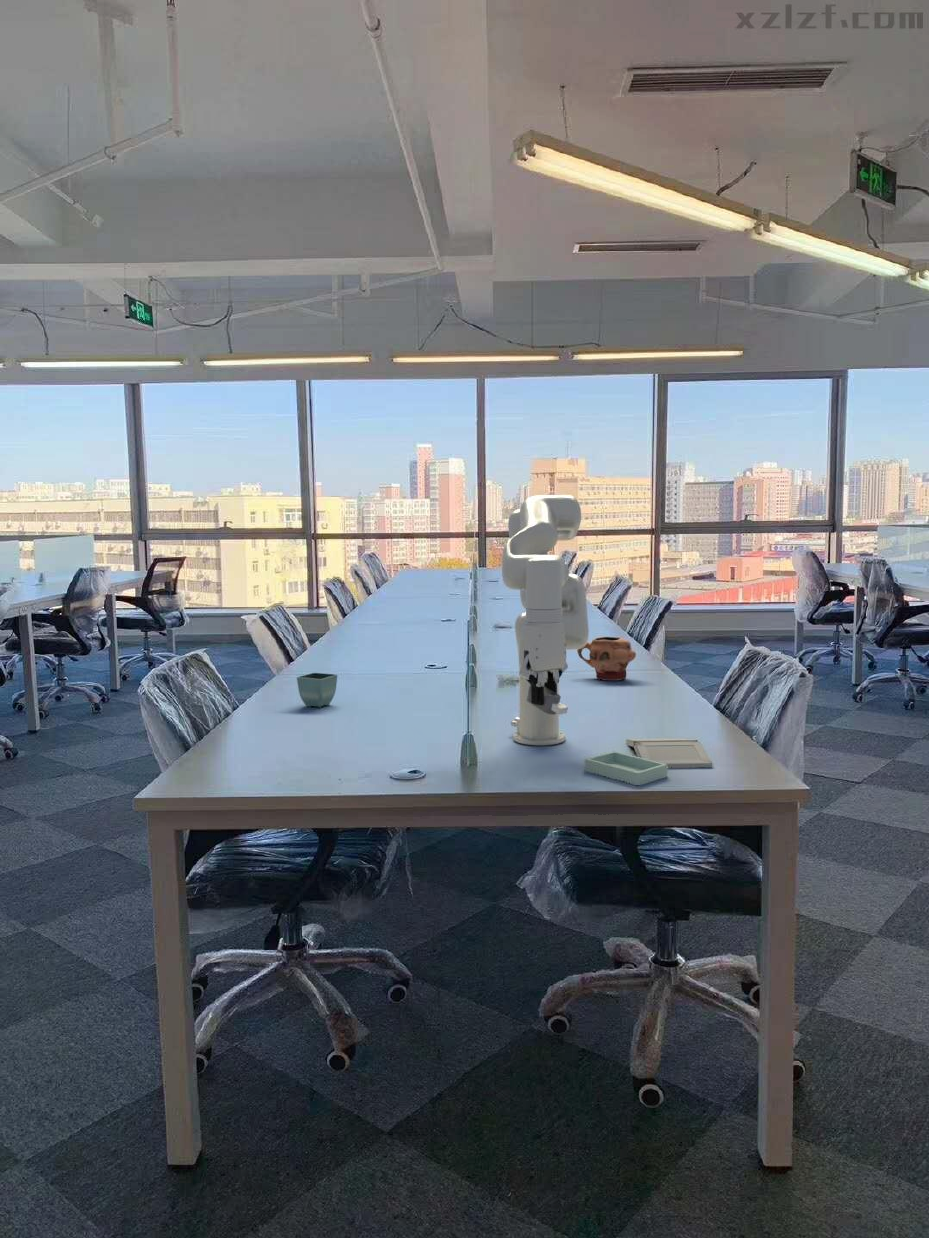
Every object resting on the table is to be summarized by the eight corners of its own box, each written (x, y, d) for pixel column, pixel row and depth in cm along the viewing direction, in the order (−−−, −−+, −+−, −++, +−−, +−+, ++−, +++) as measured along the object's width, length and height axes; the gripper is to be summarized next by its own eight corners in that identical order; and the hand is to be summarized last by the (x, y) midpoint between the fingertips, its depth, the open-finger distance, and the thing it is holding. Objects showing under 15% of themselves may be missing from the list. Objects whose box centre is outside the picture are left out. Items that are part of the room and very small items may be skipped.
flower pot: (339, 703, 262) (338, 673, 261) (322, 709, 254) (321, 679, 253) (314, 701, 265) (313, 672, 264) (296, 707, 257) (295, 677, 256)
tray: (584, 770, 188) (584, 758, 188) (614, 762, 194) (614, 751, 194) (637, 785, 177) (638, 773, 177) (667, 776, 183) (667, 764, 183)
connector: (523, 698, 190) (526, 683, 189) (534, 696, 192) (537, 681, 191) (556, 719, 182) (559, 704, 181) (567, 717, 184) (570, 701, 183)
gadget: (625, 744, 212) (625, 729, 212) (687, 743, 212) (687, 728, 212) (643, 771, 189) (643, 754, 189) (713, 770, 189) (713, 753, 189)
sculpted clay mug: (572, 680, 294) (572, 638, 292) (581, 674, 305) (581, 634, 304) (632, 683, 286) (632, 641, 285) (639, 677, 298) (639, 636, 296)
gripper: (558, 612, 193) (558, 694, 195) (502, 618, 183) (503, 705, 185) (584, 614, 187) (583, 700, 189) (527, 621, 177) (528, 711, 179)
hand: (544, 702), depth 187 cm, fingers closed on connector, 3 cm apart
